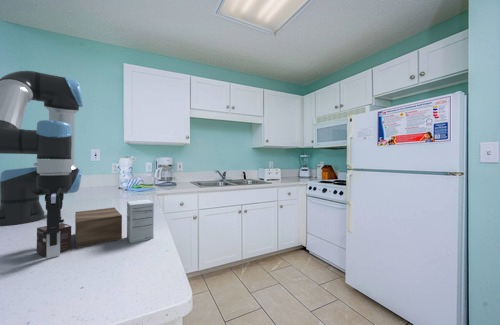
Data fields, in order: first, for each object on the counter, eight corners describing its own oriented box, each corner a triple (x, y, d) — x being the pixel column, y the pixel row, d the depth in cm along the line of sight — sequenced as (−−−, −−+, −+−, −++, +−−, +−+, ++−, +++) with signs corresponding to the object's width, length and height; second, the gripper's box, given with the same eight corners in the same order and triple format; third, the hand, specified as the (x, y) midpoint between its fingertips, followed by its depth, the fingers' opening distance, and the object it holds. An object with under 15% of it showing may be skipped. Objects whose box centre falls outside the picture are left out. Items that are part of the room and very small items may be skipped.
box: (35, 253, 60) (36, 227, 60) (62, 245, 66) (62, 222, 66) (45, 258, 58) (45, 231, 58) (71, 249, 63) (71, 225, 63)
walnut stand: (75, 233, 76) (75, 211, 76) (114, 227, 84) (114, 207, 84) (76, 247, 64) (76, 221, 64) (121, 238, 72) (121, 215, 72)
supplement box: (126, 237, 74) (126, 201, 74) (149, 232, 78) (149, 199, 78) (129, 243, 68) (129, 204, 68) (154, 238, 72) (154, 202, 72)
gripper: (40, 172, 68) (40, 242, 68) (31, 176, 51) (30, 269, 51) (71, 172, 72) (70, 237, 73) (71, 175, 56) (71, 260, 56)
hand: (54, 250), depth 62 cm, fingers open, 9 cm apart
